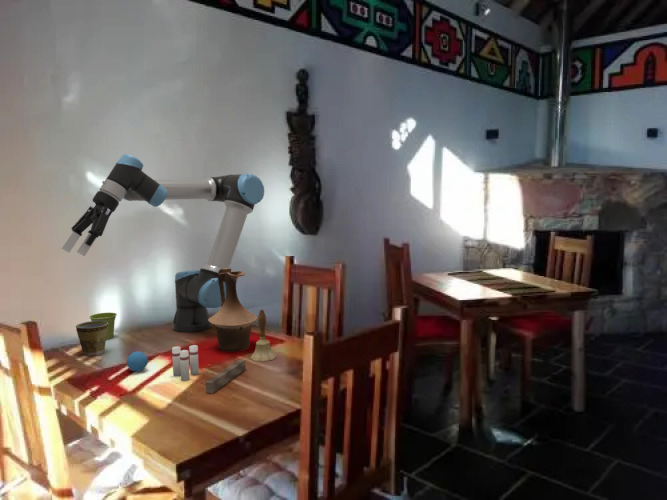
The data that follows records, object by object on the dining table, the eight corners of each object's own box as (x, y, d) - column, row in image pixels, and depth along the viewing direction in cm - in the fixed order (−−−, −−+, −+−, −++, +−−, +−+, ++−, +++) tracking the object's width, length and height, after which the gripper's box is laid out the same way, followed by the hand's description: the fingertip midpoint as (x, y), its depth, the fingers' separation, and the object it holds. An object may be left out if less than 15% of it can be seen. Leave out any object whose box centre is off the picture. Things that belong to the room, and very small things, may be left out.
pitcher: (199, 347, 187) (195, 268, 184) (239, 337, 199) (237, 263, 196) (227, 358, 175) (224, 274, 171) (268, 347, 186) (266, 268, 183)
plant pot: (99, 342, 194) (97, 319, 193) (86, 338, 200) (84, 316, 199) (123, 337, 201) (121, 314, 200) (109, 333, 207) (108, 311, 206)
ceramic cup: (116, 351, 184) (114, 322, 183) (90, 359, 175) (88, 329, 174) (92, 345, 191) (90, 318, 189) (66, 353, 182) (64, 324, 181)
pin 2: (193, 371, 162) (192, 344, 161) (200, 372, 161) (199, 345, 160) (188, 374, 160) (187, 347, 159) (196, 375, 159) (194, 347, 158)
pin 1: (184, 377, 157) (182, 349, 156) (191, 378, 156) (190, 350, 155) (179, 380, 155) (177, 352, 154) (186, 381, 154) (185, 352, 153)
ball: (135, 366, 167) (134, 348, 166) (152, 368, 165) (151, 349, 165) (123, 373, 161) (121, 354, 161) (139, 375, 160) (138, 355, 159)
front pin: (176, 373, 161) (174, 346, 160) (183, 374, 160) (182, 346, 159) (171, 376, 158) (170, 348, 157) (178, 377, 158) (177, 349, 157)
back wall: (239, 368, 164) (239, 359, 164) (245, 369, 164) (245, 359, 163) (205, 392, 145) (205, 382, 145) (212, 393, 145) (212, 382, 144)
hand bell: (245, 359, 173) (244, 311, 171) (260, 352, 180) (259, 306, 179) (266, 363, 169) (265, 314, 167) (281, 355, 177) (279, 308, 175)
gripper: (85, 190, 181) (48, 243, 174) (115, 189, 163) (75, 248, 156) (104, 202, 185) (69, 254, 179) (135, 203, 168) (98, 261, 161)
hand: (72, 252), depth 168 cm, fingers open, 13 cm apart
